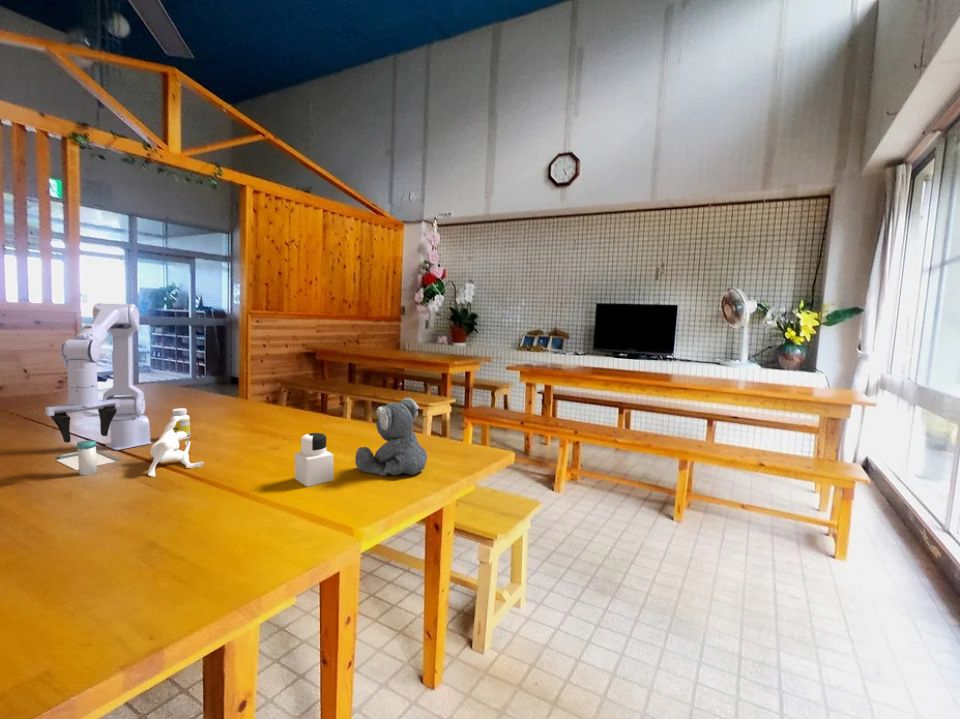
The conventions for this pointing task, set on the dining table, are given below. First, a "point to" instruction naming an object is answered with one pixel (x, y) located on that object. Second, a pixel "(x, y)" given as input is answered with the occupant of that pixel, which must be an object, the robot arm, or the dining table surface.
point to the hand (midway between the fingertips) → (86, 438)
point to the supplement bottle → (182, 421)
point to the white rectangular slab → (101, 456)
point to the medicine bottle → (313, 461)
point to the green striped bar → (67, 455)
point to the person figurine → (171, 447)
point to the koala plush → (394, 442)
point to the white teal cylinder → (87, 457)
